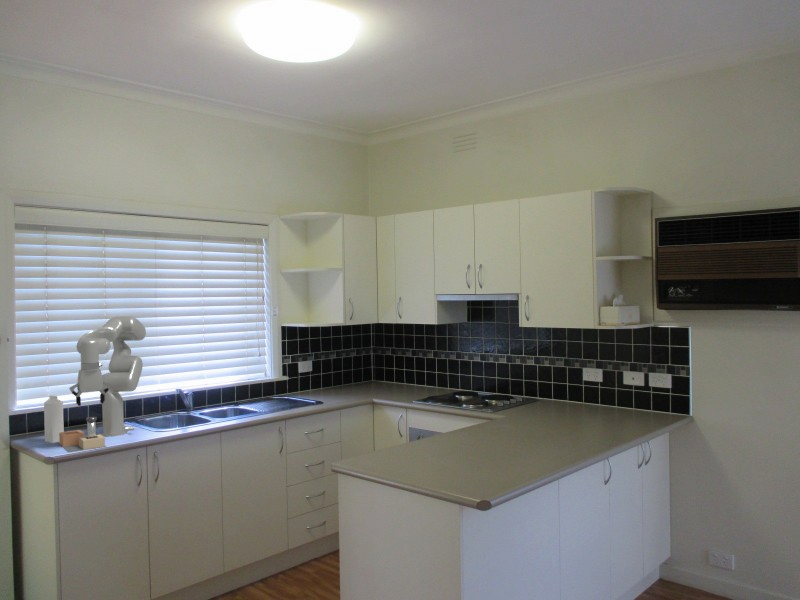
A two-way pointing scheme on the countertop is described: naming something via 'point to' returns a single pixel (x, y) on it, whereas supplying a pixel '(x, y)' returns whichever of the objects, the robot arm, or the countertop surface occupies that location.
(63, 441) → the board
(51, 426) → the milk
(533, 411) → the countertop surface
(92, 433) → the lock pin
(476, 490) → the countertop surface
